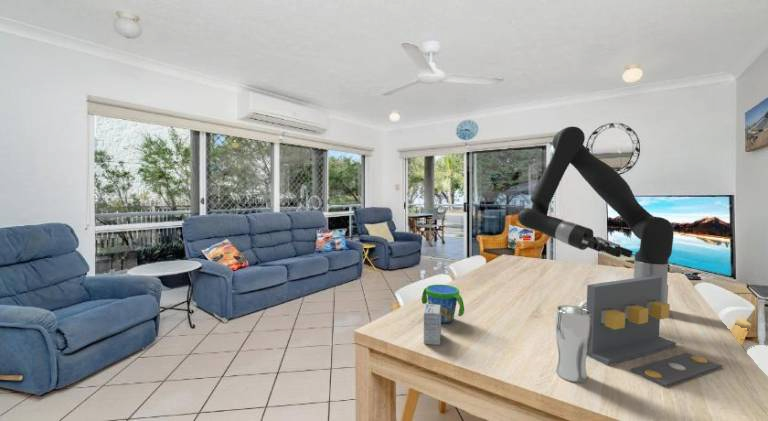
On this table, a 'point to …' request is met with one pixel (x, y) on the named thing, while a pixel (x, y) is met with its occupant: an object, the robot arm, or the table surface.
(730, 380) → the table surface
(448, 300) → the snack cup
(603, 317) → the button
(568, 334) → the silver metal cup
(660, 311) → the button
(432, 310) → the medicine box
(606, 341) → the button panel
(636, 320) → the middle button
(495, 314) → the table surface
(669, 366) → the pattern card
